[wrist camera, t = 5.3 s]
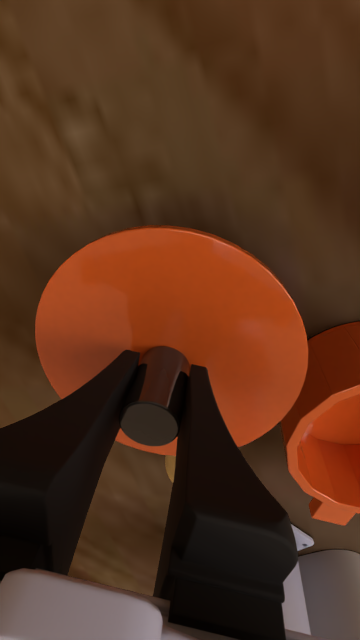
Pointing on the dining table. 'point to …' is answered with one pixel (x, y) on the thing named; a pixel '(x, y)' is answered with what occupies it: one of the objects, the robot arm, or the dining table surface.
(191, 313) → the pot lid
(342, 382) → the pot
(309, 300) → the dining table surface
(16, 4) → the dining table surface
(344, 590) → the lumpy-topped squat cylinder
